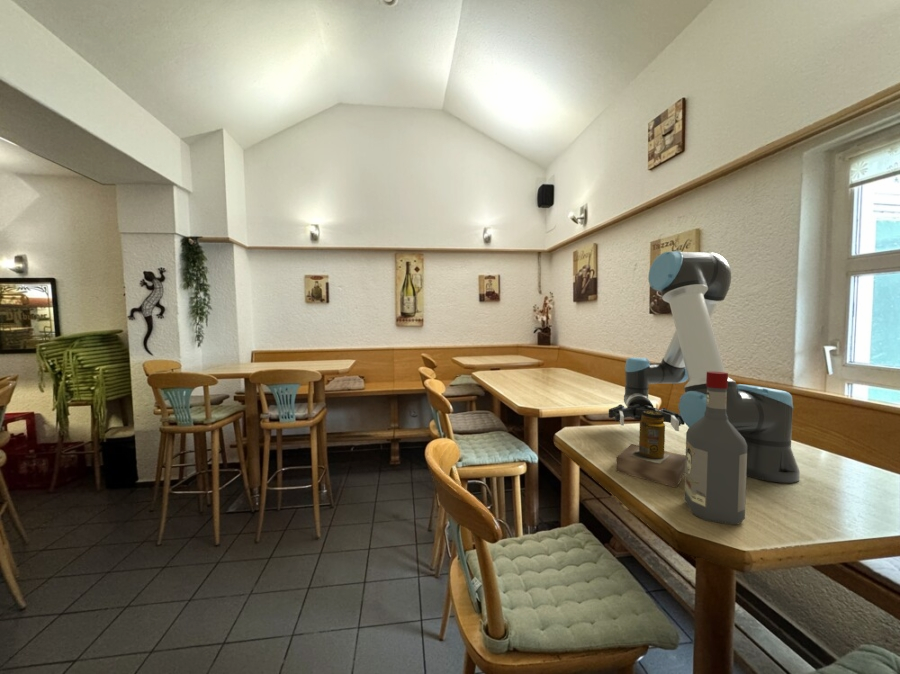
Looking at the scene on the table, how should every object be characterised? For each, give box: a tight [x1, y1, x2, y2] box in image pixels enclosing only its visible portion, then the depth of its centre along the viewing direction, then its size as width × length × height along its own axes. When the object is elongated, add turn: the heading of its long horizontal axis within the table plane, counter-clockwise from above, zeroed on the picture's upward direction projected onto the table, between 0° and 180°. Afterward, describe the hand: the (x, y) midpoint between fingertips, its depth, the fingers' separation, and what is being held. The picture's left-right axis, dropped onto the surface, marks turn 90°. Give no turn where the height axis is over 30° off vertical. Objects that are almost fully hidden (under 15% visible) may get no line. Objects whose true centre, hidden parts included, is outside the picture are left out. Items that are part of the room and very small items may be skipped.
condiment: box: [630, 410, 669, 464], centre depth 96 cm, size 7×8×12 cm
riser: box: [615, 443, 686, 488], centre depth 96 cm, size 14×14×4 cm
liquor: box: [684, 371, 747, 526], centre depth 74 cm, size 9×9×30 cm
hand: (649, 423), depth 99 cm, fingers open, 13 cm apart
